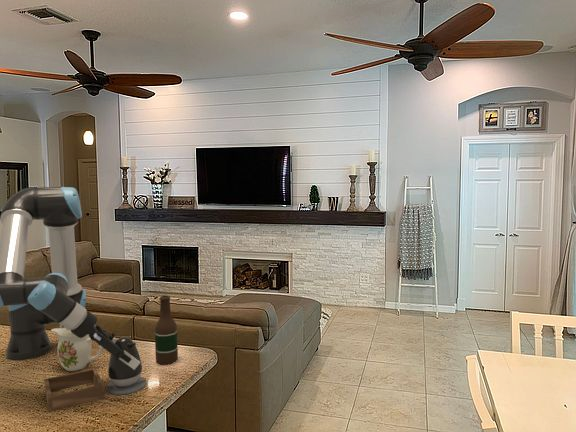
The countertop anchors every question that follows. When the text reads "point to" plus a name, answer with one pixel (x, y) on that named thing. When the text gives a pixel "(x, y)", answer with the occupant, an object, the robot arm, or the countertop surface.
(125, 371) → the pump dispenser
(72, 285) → the robot arm
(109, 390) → the coaster
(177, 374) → the countertop surface
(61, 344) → the pitcher
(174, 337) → the beer bottle
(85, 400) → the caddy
